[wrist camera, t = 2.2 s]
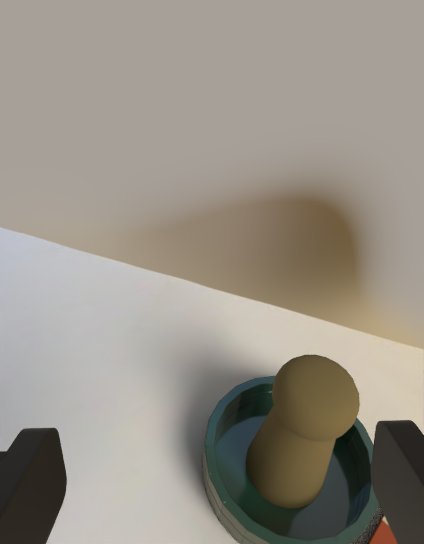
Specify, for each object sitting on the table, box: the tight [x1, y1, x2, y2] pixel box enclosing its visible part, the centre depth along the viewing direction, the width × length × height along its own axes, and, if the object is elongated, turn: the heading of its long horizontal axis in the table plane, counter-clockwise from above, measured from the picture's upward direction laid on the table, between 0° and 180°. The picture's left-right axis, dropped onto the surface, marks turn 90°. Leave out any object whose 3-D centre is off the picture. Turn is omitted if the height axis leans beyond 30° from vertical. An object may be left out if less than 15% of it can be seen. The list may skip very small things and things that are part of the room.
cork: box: [246, 355, 360, 509], centre depth 26 cm, size 6×6×11 cm
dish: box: [202, 376, 379, 544], centre depth 29 cm, size 13×13×3 cm
